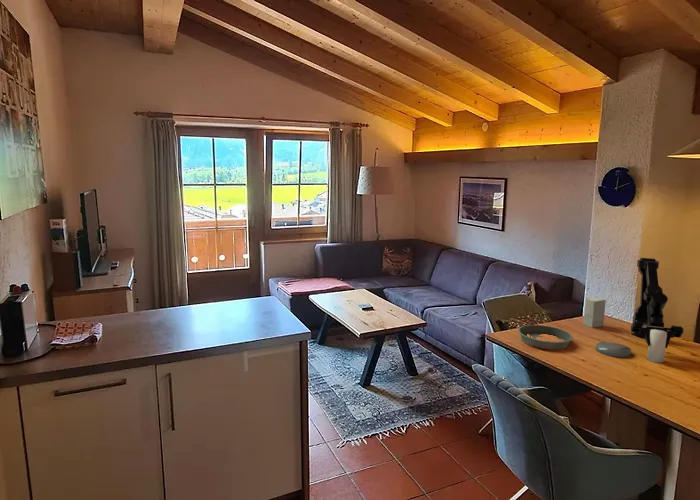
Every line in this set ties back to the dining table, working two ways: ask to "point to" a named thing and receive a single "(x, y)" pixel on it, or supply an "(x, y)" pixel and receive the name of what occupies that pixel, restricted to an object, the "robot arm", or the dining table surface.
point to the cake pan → (542, 329)
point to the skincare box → (594, 312)
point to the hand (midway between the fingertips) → (657, 346)
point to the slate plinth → (613, 349)
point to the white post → (657, 346)
